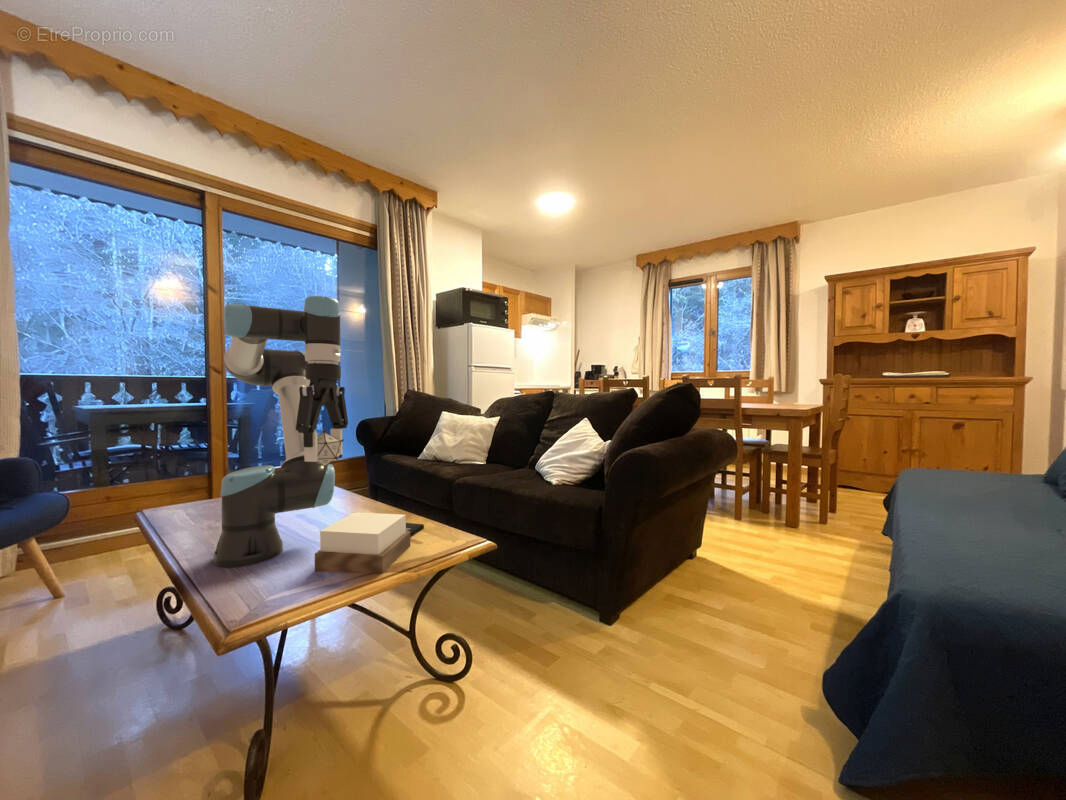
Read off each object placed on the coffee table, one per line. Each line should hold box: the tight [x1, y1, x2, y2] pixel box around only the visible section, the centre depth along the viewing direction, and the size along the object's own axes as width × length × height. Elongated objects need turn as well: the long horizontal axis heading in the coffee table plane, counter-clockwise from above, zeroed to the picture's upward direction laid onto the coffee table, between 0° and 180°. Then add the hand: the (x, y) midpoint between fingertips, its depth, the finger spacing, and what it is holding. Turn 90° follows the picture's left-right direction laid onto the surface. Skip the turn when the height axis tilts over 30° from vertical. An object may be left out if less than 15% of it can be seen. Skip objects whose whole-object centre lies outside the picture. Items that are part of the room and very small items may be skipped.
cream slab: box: [319, 512, 407, 555], centre depth 107 cm, size 15×15×5 cm
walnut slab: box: [314, 531, 411, 574], centre depth 107 cm, size 17×17×5 cm
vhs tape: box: [406, 522, 425, 538], centre depth 123 cm, size 8×14×2 cm, turn 166°
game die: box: [304, 428, 345, 470], centre depth 98 cm, size 9×8×10 cm
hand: (324, 457), depth 99 cm, fingers closed on game die, 9 cm apart
